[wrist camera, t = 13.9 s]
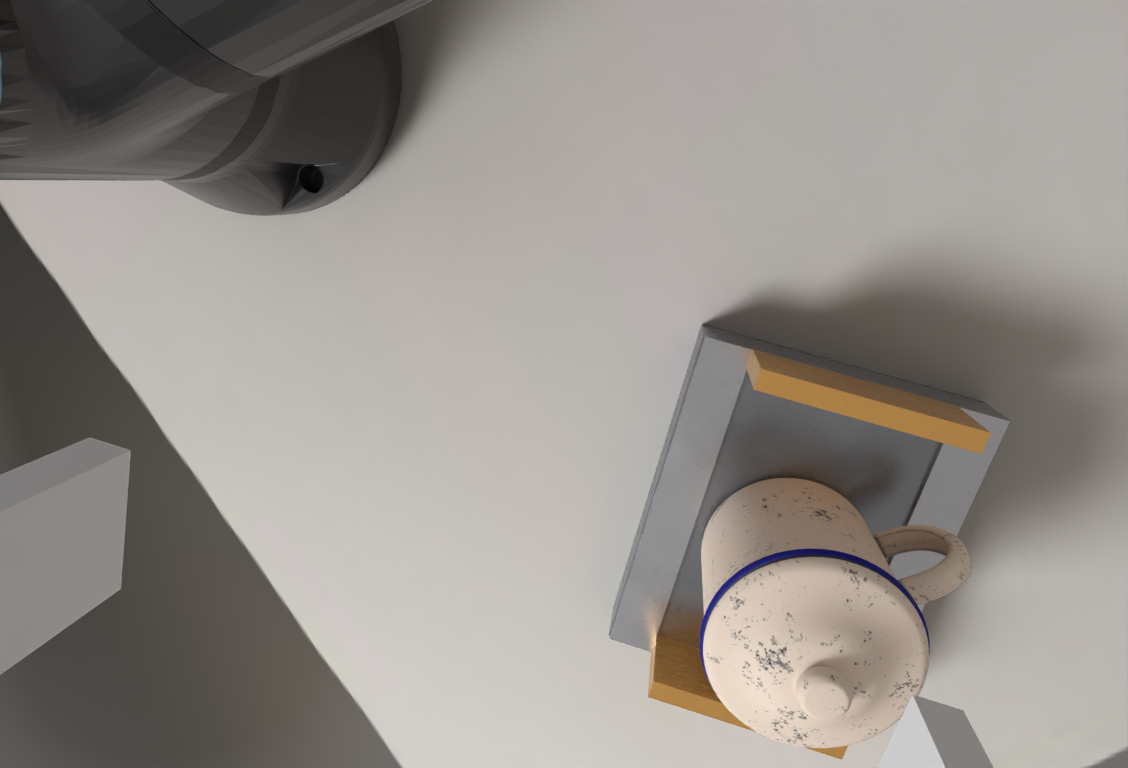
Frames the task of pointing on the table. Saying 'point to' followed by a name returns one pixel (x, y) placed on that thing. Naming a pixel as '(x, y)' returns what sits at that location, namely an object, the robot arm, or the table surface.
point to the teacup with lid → (816, 613)
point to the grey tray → (787, 450)
